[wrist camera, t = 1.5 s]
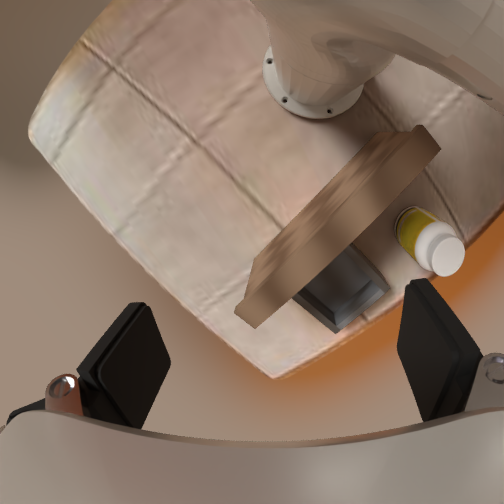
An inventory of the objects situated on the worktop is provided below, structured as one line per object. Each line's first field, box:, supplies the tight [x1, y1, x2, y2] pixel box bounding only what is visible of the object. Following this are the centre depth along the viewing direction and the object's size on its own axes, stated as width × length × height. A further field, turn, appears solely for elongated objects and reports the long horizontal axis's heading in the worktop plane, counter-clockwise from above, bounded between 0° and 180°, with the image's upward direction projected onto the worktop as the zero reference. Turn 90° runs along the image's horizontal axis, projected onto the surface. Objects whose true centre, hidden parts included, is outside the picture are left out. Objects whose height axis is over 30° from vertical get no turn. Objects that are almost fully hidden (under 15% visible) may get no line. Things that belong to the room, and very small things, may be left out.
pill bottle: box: [394, 206, 465, 277], centre depth 31 cm, size 6×6×11 cm
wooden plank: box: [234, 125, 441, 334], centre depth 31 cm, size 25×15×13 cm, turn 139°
